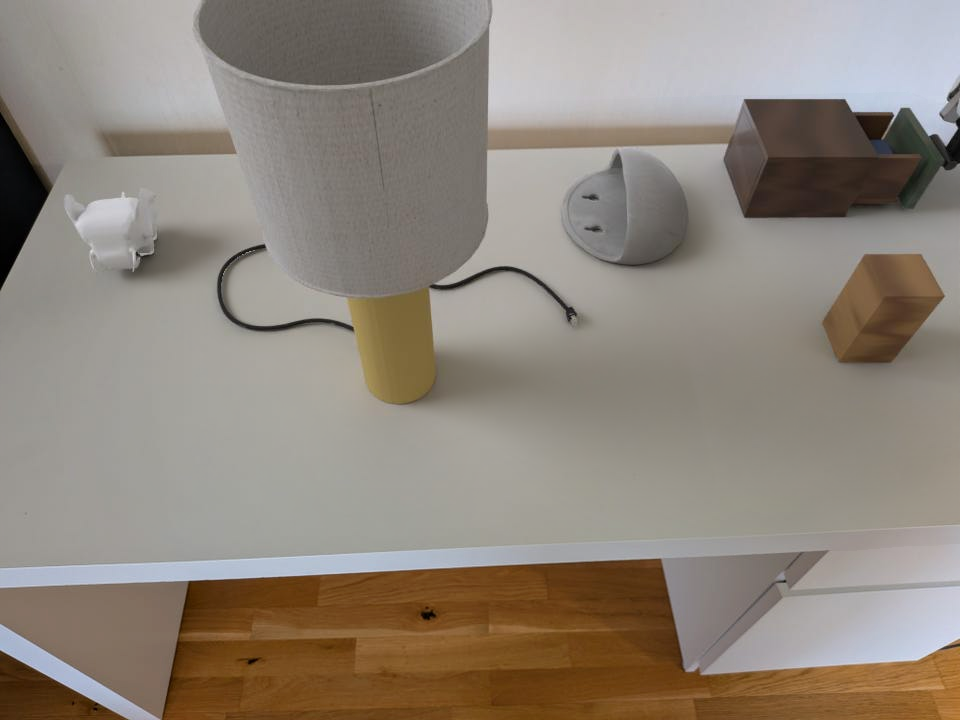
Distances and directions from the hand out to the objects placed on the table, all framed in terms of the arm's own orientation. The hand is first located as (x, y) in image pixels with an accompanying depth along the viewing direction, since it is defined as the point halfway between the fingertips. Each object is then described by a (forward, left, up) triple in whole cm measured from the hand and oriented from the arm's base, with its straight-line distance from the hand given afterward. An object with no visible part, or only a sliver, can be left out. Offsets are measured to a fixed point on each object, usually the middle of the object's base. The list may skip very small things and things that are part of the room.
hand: (954, 158), depth 91 cm
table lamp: (+39, +67, -5) cm, 78 cm away
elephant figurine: (+72, +81, -5) cm, 109 cm away
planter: (+29, +34, -5) cm, 45 cm away
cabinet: (+16, +14, -5) cm, 22 cm away
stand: (-3, +34, -5) cm, 35 cm away
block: (+8, +8, -3) cm, 12 cm away
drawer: (+7, +7, -4) cm, 11 cm away
